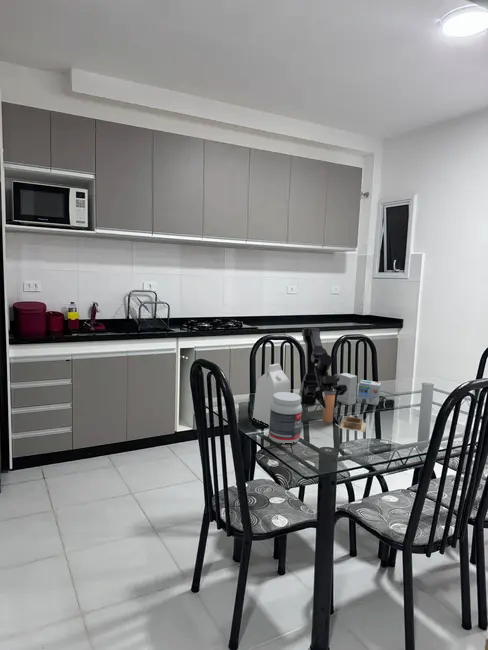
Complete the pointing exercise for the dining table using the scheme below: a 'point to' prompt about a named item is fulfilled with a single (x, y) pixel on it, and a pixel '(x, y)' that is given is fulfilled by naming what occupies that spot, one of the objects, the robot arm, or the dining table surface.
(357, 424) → the square wooden holder
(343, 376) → the skincare box
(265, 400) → the milk
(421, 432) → the dining table surface
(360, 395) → the light bulb box
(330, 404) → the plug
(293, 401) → the supplement tub
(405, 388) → the dining table surface
